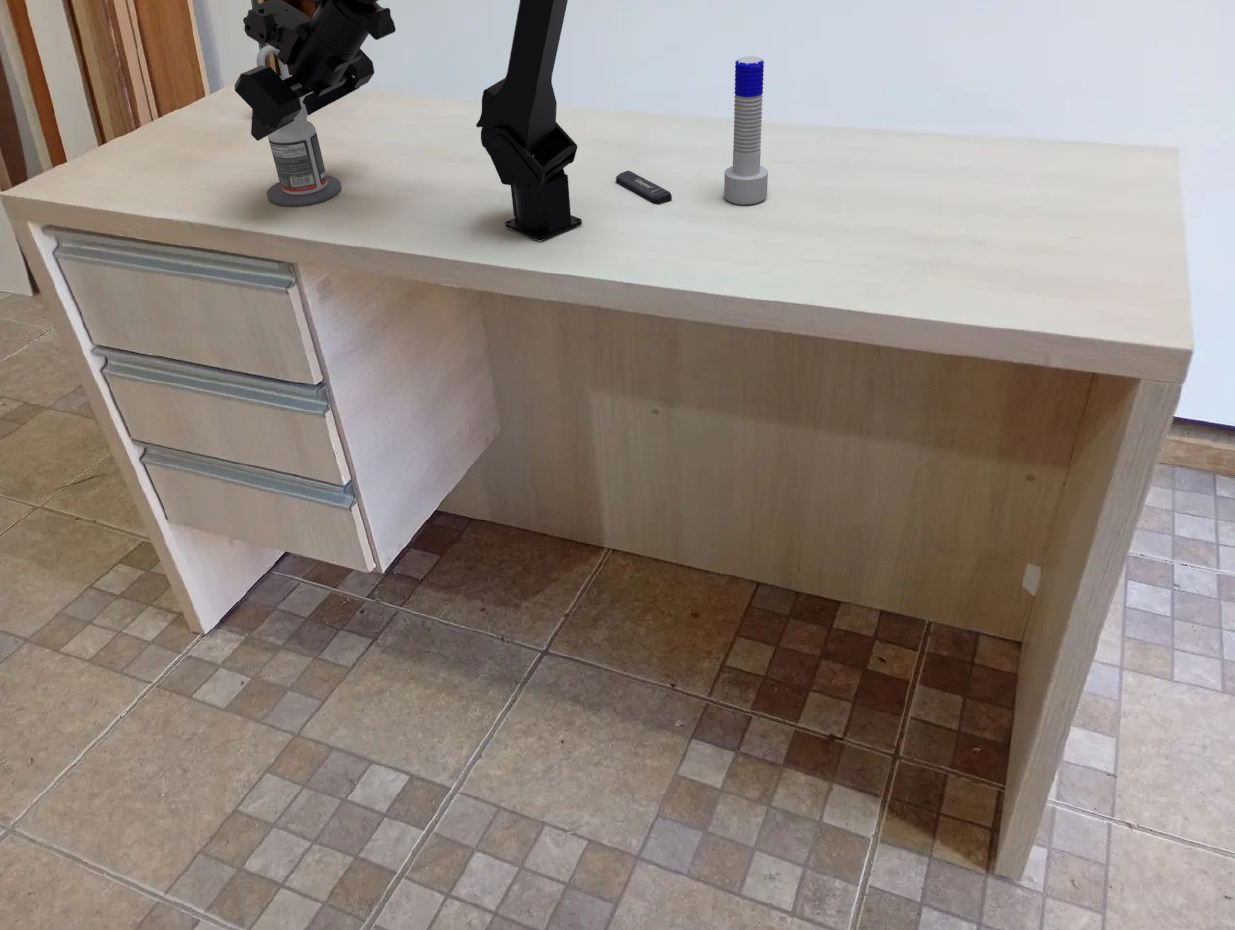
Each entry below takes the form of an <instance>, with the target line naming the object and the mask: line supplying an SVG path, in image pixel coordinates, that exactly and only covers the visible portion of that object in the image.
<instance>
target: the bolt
mask: <svg viewBox="0 0 1235 930" xmlns="http://www.w3.org/2000/svg"><path fill="white" fill-rule="evenodd" d="M734 62H735V63H734V64H735V66H734V68H735V69H734V104H733V107H734V109H733V111H734V113H733V115H734V116H733V141H732V142H733V146H732V147H733V149H732V165H731V166H729V167H726V169H725V170H724V177H723V178H724V185H723V187H724V189H723V191H724V192H723V195H724V198H725V199H726V201H728V202H730V203H732V204H735V205H741V206H742V205H744V206H749V205H750V206H751V205H757V204H759V203H761V202H764V200H765V199H766V198H767V196H768V185H769V184H768V182H769V181H768V178H769V170H768V169H767V168H766V167H764V166H762V165H761V156H762V155H761V153H762V150H761V147H762V145H761V144H762V141H761V140H762V122H763V121H762V119H763V116H762V115H763V112H762V111H763V101H764V100H763V97H764V96H763V93H764V90H763V89H764V71H765V70H764V69H765V68H764V67H765V61H764V60H763V58H761V57H758V56H743V57H739V58H738V59H737V60H736V61H734Z"/></svg>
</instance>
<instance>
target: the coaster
mask: <svg viewBox="0 0 1235 930" xmlns="http://www.w3.org/2000/svg"><path fill="white" fill-rule="evenodd" d="M326 175H327V181H328V182H327V185H326V187H325V188H323V189H322V190H320V191H318V192H315V193H312V194H307V195H290V194H287V193H285V192H284V191H283V190H282V188H281V185H280V181H279V182H276V183H275V184H272V185H271V186H270V187H269V188H268V189H267V191H266V195H267V199H268V201H269V202H270V203H271V204H273V205H275V206H279V207H287V208H289V207H290V208H296V207H297V208H299V207H308V206H311V205H312V206H313V205H317V204H320V203H323V202H326V201H328V200H331V199H333V198H334V197H336V196H337V195H339V194H340V192H341V191H342V183H341V181H340V180H339V178H337V177H334V176H332V175H328V174H326Z"/></svg>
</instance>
